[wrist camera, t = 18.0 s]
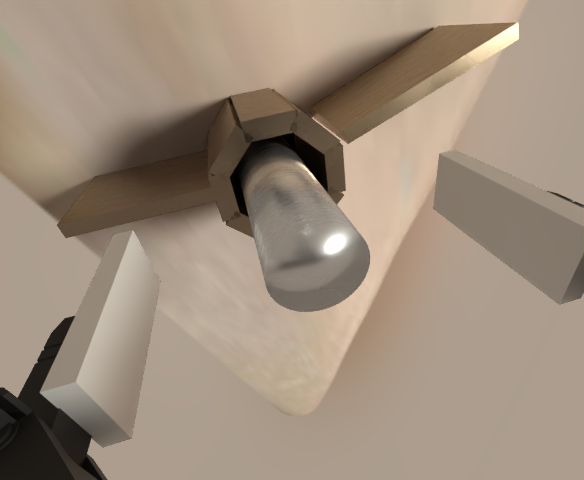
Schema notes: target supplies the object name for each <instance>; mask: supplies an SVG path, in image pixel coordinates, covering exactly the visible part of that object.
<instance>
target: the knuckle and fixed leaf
mask: <svg viewBox="0 0 584 480" xmlns="http://www.w3.org/2000/svg"><path fill="white" fill-rule="evenodd" d="M230 97H231V101H232V102H231V101H229V100H228V99H227V100H226V101H225V103H224V105H223V107H222V109H221V110H220V112H219V114H218V116H217V118H216V119H215V121H214V123H213V125H212V127H211V128H210V130H209V132H208V151H205V152H200V153H196V154H191V155H187V156H183V157H178V158H174V159H170V160H165V161H161V162H157V163H152V164H148V165H144V166H139V167H135V168H131V169H126V170H122V171H118V172H113V173H109V174H105V175H100V176H96V177H95V178H94V179H93V180H92V181H91V183H90V184H89V185H88V186H87V188H86V189H85V190H84V192H83V193H82V194H81V195H80V197H79V198H78V199H77V200H76V202H75V203H74V204H73V205H72V207H71V208H70V209H69V211H68V212H67V213H66V214H65V216H64V217H63V218H62V219H61V221H60V222H59V223H58V224H57V226H58V227H59V229H60V230H61V232H62V233H63V235H64V236H65V237H66V238H68V237H72V236H76V235H80V234H84V233H89V232H93V231H97V230H101V229H105V228H109V227H113V226H117V225H121V224H125V223H129V222H133V221H137V220H141V219H145V218H149V217H153V216H158V215H162V214H166V213H170V212H174V211H178V210H182V209H186V208H190V207H194V206H198V205H202V204H206V203H210V202H214V201H216V202H217V205H218V208H219V211H220V214H221V217H222V220H223V222H224V221H226V225H227V226H229V227H231V228H233V229H236V230H238V231H240V232H242V233H244V234H246V235H248V236H251V237H253V238H254V235H253V231H252V227H251V223H250V219H249V215H248V211H247V207H246V203H245V199H244V195H243V191H242V187H241V183H240V179H239V175H238V170H237V169H236V166H237V164H238V163H239V161H240V160H241V158H242V156H243V155H244V153H245V151H246V150H247V148H248V147H249V145H250V143H251V142H254V141H258V140H262V139H267V138H271V137H275V136H280V135H284V134H288V133H294V138H295V144H296V152H295V153H296V154H297V155H298V157H299V158H300V159H301V160H302V162H303V163H304V164H305V165H306V167H307V168H308V169H309V170H310V172H311V173H312V174H313V175H314V177H315V178H316V179H317V180H318V182H319V183H320V184H321V186H322V187H323V188H324V189H325V191H326V192H327V193H328V194H329V196H330V197H331V198H332V199H333V201H334V202H335V203H336V204H338V202H339V201H340V200H341V199H342V197H343V196H344V194H343V193H342V191H346V188H345V173H344V158H343V145H342V144H341V143H339V142H340V140H339V139H337V138H336V137H335V136H334V135H332V134H331V133H330V132H328V131H327V130H326V129H325V128H323V127H322V126H321V125H320V124H318V123H317V122H316V121H314V120H313V119H312V118H311V117H309V116H308V115H307V114H305V113H304V112H303V111H302V110H300V109H299V108H298V107H296V106H295V105H294V104H292V103H291V102H290V101H288V100H287V99H286V98H284V97H283V96H282V95H280V94H279V93H278V92H276V91H275V90H274V89H273V90H271V89H269V88H267V89H262V90H257V91H253V92H248V93H243V94H239V95H234V96H230Z"/></svg>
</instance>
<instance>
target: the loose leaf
mask: <svg viewBox="0 0 584 480" xmlns="http://www.w3.org/2000/svg"><path fill="white" fill-rule="evenodd" d="M518 39H519V32H518V22H516V23H493V24H470V25H447V26H438V27H436V28H435V29H433V30H432V31H430V32H428V33H427V34H425V35H424V36H422V37H421V38H419V39H417V40H416V41H414V42H413V43H411V44H410V45H408V46H406V47H405V48H403V49H402V50H400V51H398V52H397V53H395V54H394V55H392V56H391V57H389V58H387V59H386V60H384V61H383V62H381V63H380V64H378V65H376V66H375V67H373V68H372V69H370V70H369V71H367V72H365V73H364V74H362V75H361V76H359V77H357V78H356V79H354V80H353V81H351V82H350V83H348V84H346V85H345V86H343V87H342V88H340V89H339V90H337V91H335V92H334V93H332V94H331V95H329V96H328V97H326V98H324V99H323V100H321V101H320V102H318V103H316V104H315V105H313V106H312V107H310V110H311V112H312V114H313V116H314V118H315V119H316V120H317V121H319V122H320V123H321V124H323V125H324V126H325V127H327V128H328V129H329V130H331V131H332V132H333V133H335V134H336V135H337V136H339V137H340V138H341V139H342V140H344V141H345V142H346V143H348V144H349V143H350V142H352V141H354V140H355V139H357V138H359V137H360V136H362V135H363V134H365V133H367V132H368V131H370V130H372V129H373V128H375V127H377V126H378V125H380V124H381V123H383V122H385V121H386V120H388V119H390V118H391V117H393V116H394V115H396V114H398V113H399V112H401V111H403V110H404V109H406V108H407V107H409V106H411V105H412V104H414V103H416V102H417V101H419V100H421V99H422V98H424V97H425V96H427V95H429V94H430V93H432V92H434V91H435V90H437V89H438V88H440V87H442V86H443V85H445V84H447V83H448V82H450V81H452V80H453V79H455V78H456V77H458V76H460V75H461V74H463V73H465V72H466V71H468V70H469V69H471V68H473V67H474V66H476V65H478V64H479V63H481V62H483V61H484V60H486V59H487V58H489V57H491V56H492V55H494V54H496V53H497V52H499V51H500V50H502V49H504V48H505V47H507V46H509V45H510V44H512V43H513V42H515V41H517V40H518Z"/></svg>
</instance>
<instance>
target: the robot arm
mask: <svg viewBox="0 0 584 480" xmlns="http://www.w3.org/2000/svg"><path fill="white" fill-rule="evenodd" d="M433 209H434V210H435V211H437V212H438V213H439V214H441V215H442V216H443V217H445V218H446V219H447V220H449V221H450V222H451V223H453V224H454V225H455V226H456V227H458V228H459V229H461V230H462V231H463V232H464V233H466V234H467V235H468V236H470V237H471V238H472V239H474V240H475V241H476V242H478V243H479V244H480V245H482V246H483V247H484V248H485V249H487V250H488V251H490V252H491V253H492V254H493V255H495V256H496V257H497V258H499V259H500V260H501V261H502V262H504V263H505V264H506V265H508V266H509V267H510V268H512V269H513V270H514V271H516V272H517V273H518V274H520V275H521V276H522V277H523V278H525V279H526V280H528V281H529V282H530V283H531V284H533V285H534V286H535V287H537V288H538V289H539V290H541V291H542V292H543V293H545V294H546V295H547V296H548V297H550V298H551V299H553V300H554V301H555V302H556V303H558V304H563V303H566V302H570V301H573V300H576V299H579V298H581V297H582V295H583V293H584V205H582V204H580V203H578V202H573V201H572V200H571V199H568V198H566V197H564V196H562V195H559V194H557V193H553V192H549V191H545V190H543V189H541V188H538V187H536V186H534V185H532V184H530V183H527V182H525V181H523V180H521V179H519V178H516V177H514V176H512V175H510V174H508V173H506V172H503V171H501V170H499V169H497V168H495V167H492V166H490V165H488V164H486V163H484V162H481V161H479V160H477V159H475V158H473V157H470V156H468V155H466V154H464V153H462V152H459V151H457V150H452V151H448V152H444V153H440V154H439V161H438V170H437V179H436V187H435V197H434V206H433ZM160 282H161V281H160V279H159V277H158V276H157V274H156V272H155V270H154V268H153V266H152V264H151V262H150V261H149V259H148V257H147V255H146V253H145V251H144V249H143V248H142V246H141V244H140V242H139V240H138V238H137V236H136V235H135V233H134V231H133V230H131V231H127V232H123V233H119V234H115V235H113V236H112V239H111V241H110V243H109V245H108V247H107V249H106V251H105V253H104V256H103V258H102V260H101V262H100V264H99V267H98V269H97V271H96V273H95V275H94V277H93V279H92V281H91V284H90V286H89V288H88V290H87V292H86V294H85V296H84V298H83V301H82V303H81V305H80V307H79V309H78V311H77V313H76V316H72V317H69V318H65V319H64V320H63V321H62V322H61V323H60V324H59V325H58V326H57V328H56V329H55V330H54V331H53V332H52V333H51V335H50V337H49V339H48V340H47V342H46V344H45V346H44V350H43V351H42V352H41V354H40V356H39V358H38V360H37V361H38V363H36V364H35V365H34V367H33V370H32V371H31V373H30V375H29V377H28V379H27V381H26V383H25V385H24V387H23V388H22V391H21V392H20V395H19V396H18V398H17V397H15V396H14V395H13V394H12V393H10V392H9V391H8V390H6V389H5V388H0V480H107V479H106V477H105V476H104V474H103V473H102V471H101V470H100V468H99V467H98V466H97V464H96V463H95V461H94V460H93V459H92V458H91V457H90V456H89V455H88V454H87V451H88V448H89V444H90V441H91V438H92V439H93V440H95V441H96V442H97V443H98V444H99V445H100V446H101V447H106V446H109V445H112V444H115V443H119V442H122V441H125V440H128V439H131V438H132V434H133V428H134V422H135V417H136V411H137V406H138V401H139V395H140V390H141V385H142V380H143V374H144V369H145V363H146V357H147V352H148V347H149V342H150V336H151V330H152V325H153V320H154V315H155V309H156V304H157V299H158V293H159V288H160Z"/></svg>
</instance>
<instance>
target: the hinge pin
mask: <svg viewBox="0 0 584 480" xmlns="http://www.w3.org/2000/svg"><path fill="white" fill-rule="evenodd" d="M237 170H238V175H239V179H240V183H241V187H242V191H243V195H244V199H245V203H246V207H247V211H248V215H249V219H250V223H251V227H252V231H253V235H254V239H255V243H256V247H257V252H258V256H259V260H260V264H261V268H262V272H263V276H264V280H265V284H266V287H267V290H268V292H269V294H270V296H271V297H272V298H273V299H274V300H275V301H276V302H277V303H278V304H280V305H281V306H283V307H285V308H287V309H290V310H294V311H300V312H312V311H319V310H323V309H326V308H329V307H332V306H334V305H336V304H338V303H340V302H342V301H343V300H345V299H346V298H347V297H349V296H350V295H351V294H352V293H353V292H354V291H355V290H356V289H357V288H358V287H359V286H360V284H361V283H362V282H363V280H364V278H365V276H366V274H367V272H368V269H369V264H370V252H369V248H368V245H367V243H366V241H365V240H364V239H363V237H362V236H361V235H360V233H359V232H358V231H357V230H356V228H355V227H354V226H353V225H352V223H351V222H350V221H349V220H348V218H347V217H346V216H345V214H344V213H343V212H342V211H341V209H340V208H339V207H338V206H337V204H336V203H335V202H334V201H333V199H332V198H331V197H330V196H329V194H328V193H327V192H326V191H325V189H324V188H323V187H322V186H321V184H320V183H319V182H318V180H317V179H316V178H315V177H314V175H313V174H312V173H311V172H310V170H309V169H308V168H307V167H306V165H305V164H304V163H303V162H302V160H301V159H300V158H299V157H298V155H297V154H296V153H295V152H294V150H293V149H292V148H291V146H290V145H289V144H288V143H287V141H286V140H285V139H284V138H283V136H282V135H280V136H275V137H271V138H267V139H262V140H258V141H254V142H251V143H250V145H249V147H248V148H247V150H246V151H245V153H244V155H243V156H242V158H241V160H240V161H239V163H238V164H237Z"/></svg>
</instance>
